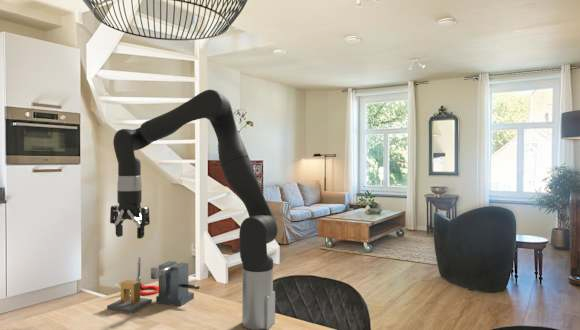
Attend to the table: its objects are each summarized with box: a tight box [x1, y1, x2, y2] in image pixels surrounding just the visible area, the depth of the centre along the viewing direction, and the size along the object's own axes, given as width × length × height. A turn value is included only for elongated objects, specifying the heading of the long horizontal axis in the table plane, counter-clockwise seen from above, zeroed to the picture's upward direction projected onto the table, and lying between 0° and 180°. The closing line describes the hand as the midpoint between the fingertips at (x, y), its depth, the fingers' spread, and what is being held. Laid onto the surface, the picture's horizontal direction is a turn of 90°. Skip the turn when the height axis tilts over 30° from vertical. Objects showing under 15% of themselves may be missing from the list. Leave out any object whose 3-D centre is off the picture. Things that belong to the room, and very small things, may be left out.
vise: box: [150, 260, 200, 307], centre depth 139 cm, size 15×16×14 cm
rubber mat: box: [106, 295, 153, 314], centre depth 138 cm, size 10×10×1 cm
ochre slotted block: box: [120, 279, 141, 305], centre depth 138 cm, size 5×3×7 cm, turn 71°
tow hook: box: [135, 256, 159, 296], centre depth 152 cm, size 8×13×9 cm
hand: (129, 237), depth 137 cm, fingers open, 8 cm apart
